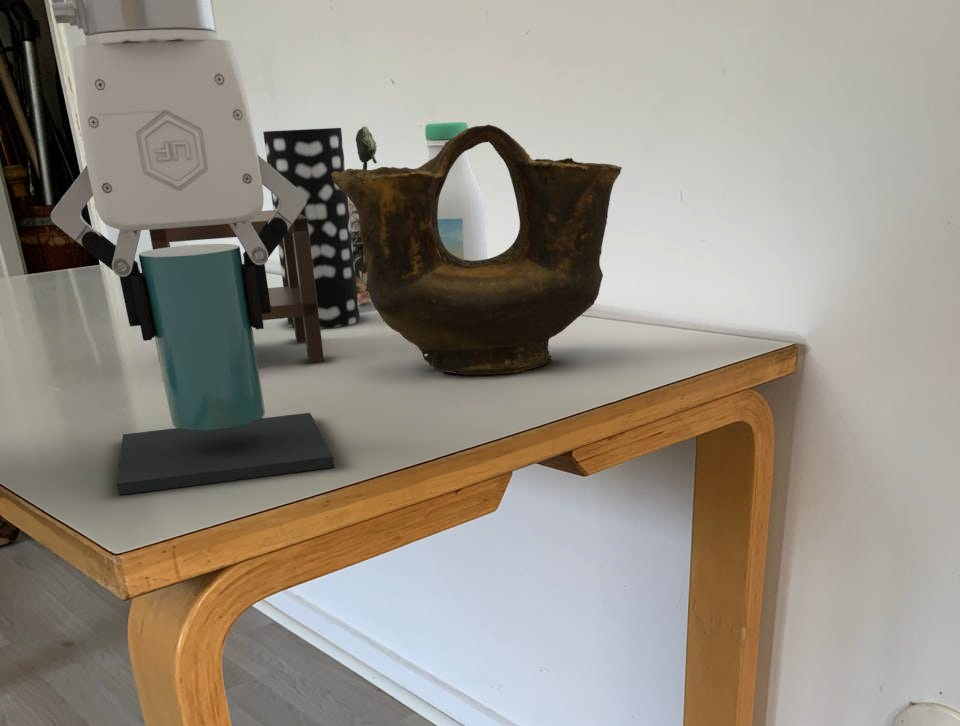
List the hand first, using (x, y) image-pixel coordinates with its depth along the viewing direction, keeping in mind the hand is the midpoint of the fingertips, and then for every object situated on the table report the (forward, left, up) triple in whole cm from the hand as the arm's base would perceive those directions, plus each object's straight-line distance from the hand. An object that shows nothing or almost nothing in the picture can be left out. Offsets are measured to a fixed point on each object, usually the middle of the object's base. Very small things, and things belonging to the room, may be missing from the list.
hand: (203, 328), depth 66 cm
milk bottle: (+29, +45, -9) cm, 54 cm away
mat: (0, 0, -9) cm, 9 cm away
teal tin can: (0, +1, -6) cm, 6 cm away
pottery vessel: (+25, +19, -9) cm, 33 cm away
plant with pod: (+20, +59, -9) cm, 63 cm away
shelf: (+4, +34, -9) cm, 35 cm away
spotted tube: (+14, +49, -9) cm, 52 cm away
